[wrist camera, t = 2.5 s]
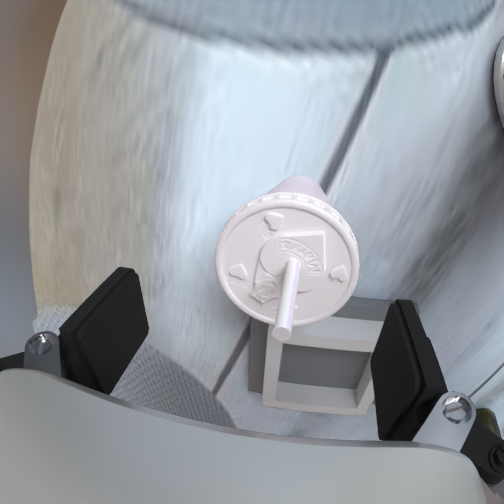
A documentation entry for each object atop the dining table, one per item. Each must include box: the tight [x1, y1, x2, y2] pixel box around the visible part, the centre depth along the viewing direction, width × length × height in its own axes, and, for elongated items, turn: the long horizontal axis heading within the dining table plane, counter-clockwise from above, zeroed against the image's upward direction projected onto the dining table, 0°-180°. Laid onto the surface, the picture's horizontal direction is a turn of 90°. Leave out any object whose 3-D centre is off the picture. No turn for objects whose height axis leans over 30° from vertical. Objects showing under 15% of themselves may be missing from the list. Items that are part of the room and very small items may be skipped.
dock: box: [249, 297, 419, 416], centre depth 26 cm, size 14×13×4 cm
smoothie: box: [215, 176, 360, 340], centre depth 15 cm, size 6×6×14 cm
